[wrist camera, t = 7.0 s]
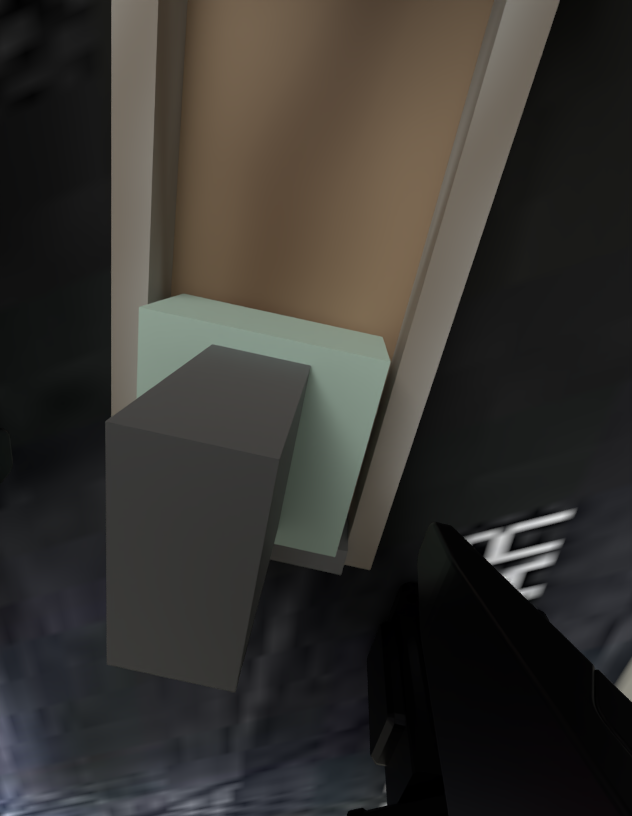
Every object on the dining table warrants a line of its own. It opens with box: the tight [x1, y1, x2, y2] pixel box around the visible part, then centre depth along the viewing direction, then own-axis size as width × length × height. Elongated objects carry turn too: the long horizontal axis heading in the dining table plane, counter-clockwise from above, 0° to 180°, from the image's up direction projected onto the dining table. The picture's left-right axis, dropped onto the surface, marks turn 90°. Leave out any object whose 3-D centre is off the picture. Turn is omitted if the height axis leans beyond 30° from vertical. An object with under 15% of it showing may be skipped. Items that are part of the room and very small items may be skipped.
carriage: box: [105, 294, 390, 692], centre depth 10 cm, size 6×6×7 cm
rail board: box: [111, 0, 560, 575], centre depth 11 cm, size 9×18×4 cm, turn 169°
